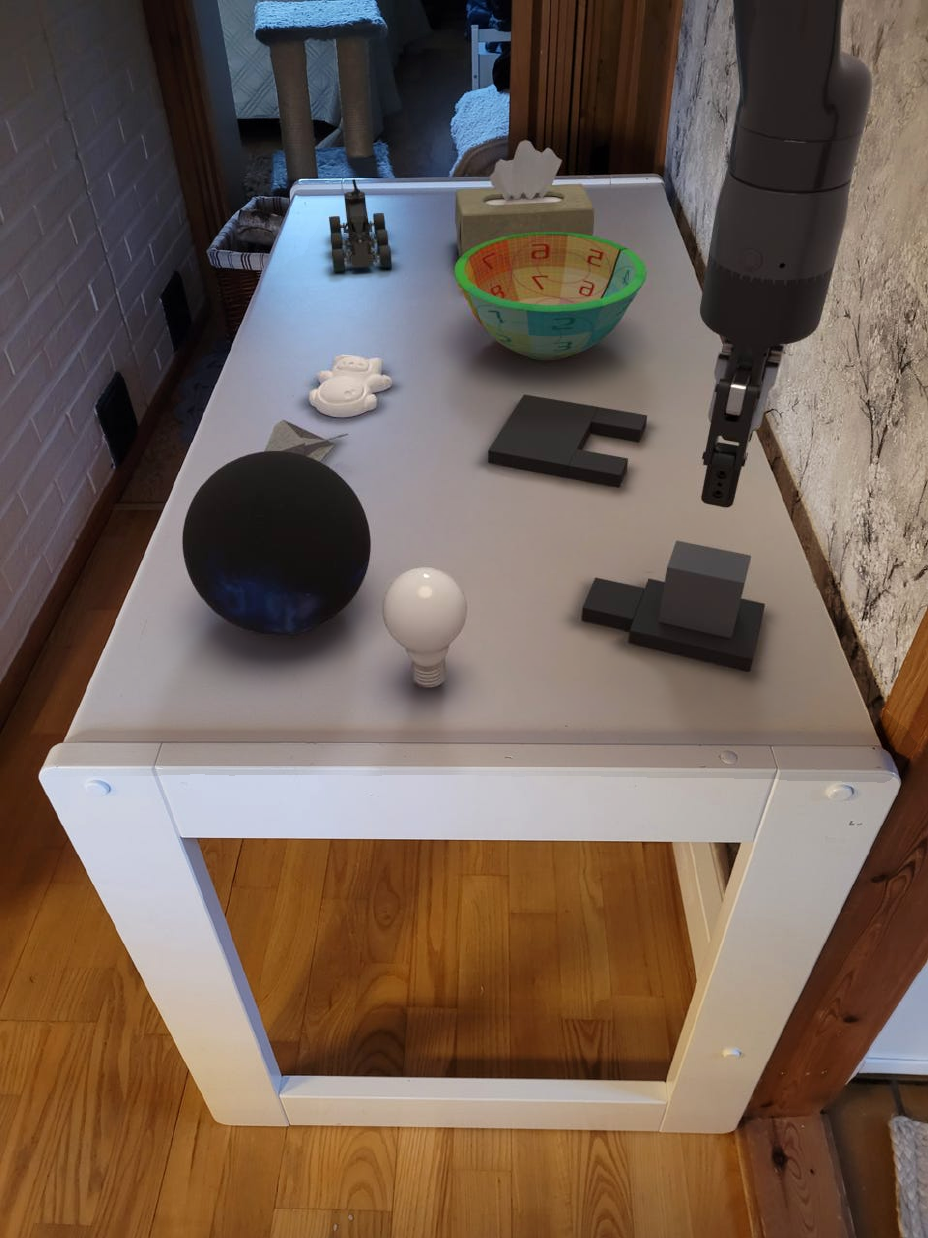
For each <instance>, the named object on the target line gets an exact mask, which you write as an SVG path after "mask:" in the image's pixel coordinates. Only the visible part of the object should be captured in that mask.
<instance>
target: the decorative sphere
mask: <svg viewBox="0 0 928 1238" xmlns="http://www.w3.org/2000/svg"><path fill="white" fill-rule="evenodd" d="M369 525H370V524H369V521H368V518H367V515H366V512H365V509H364V507H363V504H362V503H361V501H360V499H359V497H358V496H357V494H356V492H355V491H354V490H353V488H352V487H351V486H350V484H348V482H347V481H346V480H345V479H344V478H343V477H342V476H341V475H340V474H338V473H337V472H336V471H335V470H333V469H332V468H331V467H329V465H328V466H327V464H324V463H323V462H321V461H320V462H319V461H317V460H315V459H313V458H310V457H307V456H305V455H301V454H297V453H293V452H286V451H257V452H254V453H249V454H246V455H243V456H239V457H238V458H236V459H235V458H234V459H233V460H231V461H229V462H228V463H226V464H224V465H223V466H221V467H219V468H218V469H217V470H216V471H214V472H213V473H212V474H211V475H210V476H209V477H208V478H207V479H206V480H205V481H204V482H203V484H202V485H201V486H200V487H199V489H198V490H197V491H196V493H195V495H194V496H193V498H192V500H191V502H190V504H189V506H188V509H187V512H186V514H185V518H184V523H183V527H182V541H181V543H182V545H181V546H182V556H183V561H184V565H185V568H186V571H187V574H188V576H189V580H190V581H191V583H192V586H193V587H194V588H195V590H196V592H197V593H198V595H199V596H200V598H201V599H202V600H203V601H204V602H205V604H206V605H207V606H208V607H209V608H210V609H211V610H212V611H213V612H215V613H216V614H217V615H219V616H220V618H222V619H223V620H225V621H227V622H229V623H230V624H232V625H234V626H236V627H237V628H241V629H242V630H246V631H249V632H252V633H256V634H262V635H267V636H268V635H269V636H289V635H296V634H300V633H304V632H307V631H310V630H313V629H316V628H318V627H320V626H323V625H324V624H326V623H327V622H328V621H330V620H332V619H333V618H335V617H336V616H338V615H339V614H340V613H341V612H342V611H343V610H344V609H345V608H346V607H347V606H348V605H349V604H350V602H351V601H352V600H353V599H354V598H355V596H356V595H357V593H358V592H359V590H360V587H361V586H362V584H363V582H364V580H365V577H366V575H367V572H368V568H369V564H370V558H371V553H372V550H371V549H372V539H371V531H370V526H369Z"/></svg>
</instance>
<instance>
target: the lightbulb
mask: <svg viewBox="0 0 928 1238" xmlns="http://www.w3.org/2000/svg"><path fill="white" fill-rule="evenodd" d="M381 612H382V619H383V623H384V626H385V628H386V630H387V631H388V633H389V635H390V636H391V637H392V638H393V639H394V641H395V642H396V643H398V644H399V645H400V646H401V647H403V648H404V649H405V651H406V654H407V656H408V658H409V659H410V662H411V664H410V665H411V676H412V680H413V682H414V683H415V684H416V685H418V686H420V687H422V688H435V687H437V686H440V685H441V684H442V683H443V682H444V681H445V680H446V678H447V677H446V676H447V670H446V668H447V667H446V656H447V655H448V653H449V648H450V645H451V644H452V643H453V642H454V641H455V640H456V639H457V638H458V636H459V635H460V634H461V632H462V630H463V628H464V626H465V625H466V620H467V615H468V603H467V599H466V596H465V592H464V590H463V589H462V587H461V585H460V584H459V582H458V581H457V579H455V578H454V577H453V576H452V575H450V574H449V573H448V572H446V571H444V570H442V569H439V568H436V567H431V566H418V567H414V568H413V567H412V568H410V569H408V570H405V571H404V572H402V573H400V574H399V575H397V576H396V577H395V578H394V579H393V580H392V581H391V583H389V585H388V587H387V588H386V591H385V593H384V596H383V598H382V605H381Z"/></svg>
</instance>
